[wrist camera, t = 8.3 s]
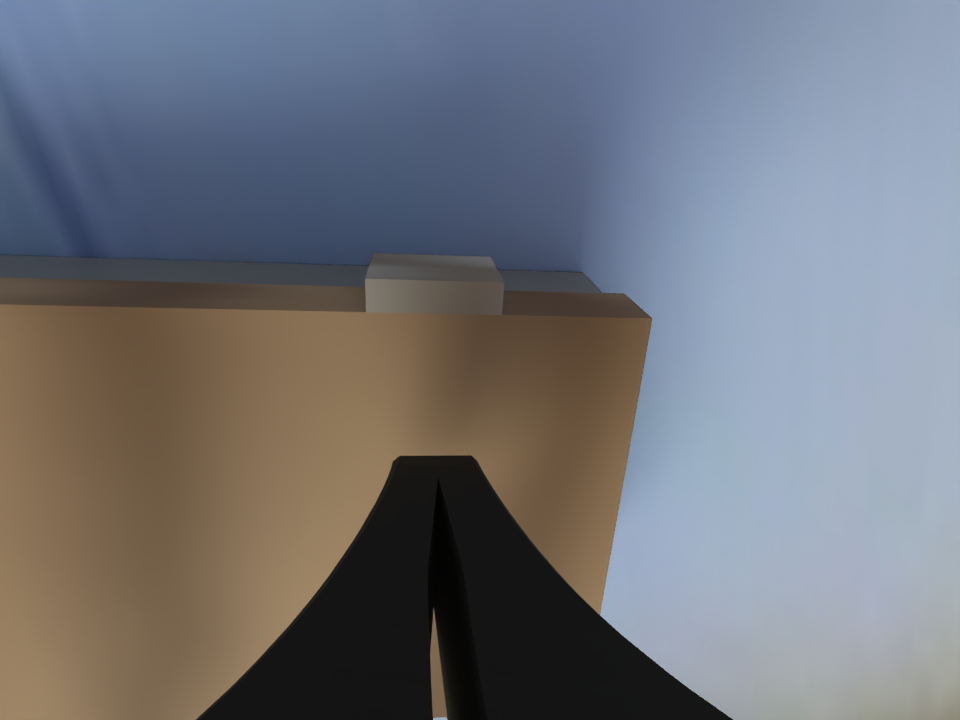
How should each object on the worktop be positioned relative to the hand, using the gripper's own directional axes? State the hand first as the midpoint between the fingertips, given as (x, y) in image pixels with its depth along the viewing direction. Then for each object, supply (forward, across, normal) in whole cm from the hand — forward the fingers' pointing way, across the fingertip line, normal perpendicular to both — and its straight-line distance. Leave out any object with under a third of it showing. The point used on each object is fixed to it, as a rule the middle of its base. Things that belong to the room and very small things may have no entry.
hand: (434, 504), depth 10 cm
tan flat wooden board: (+4, +6, +2) cm, 7 cm away
